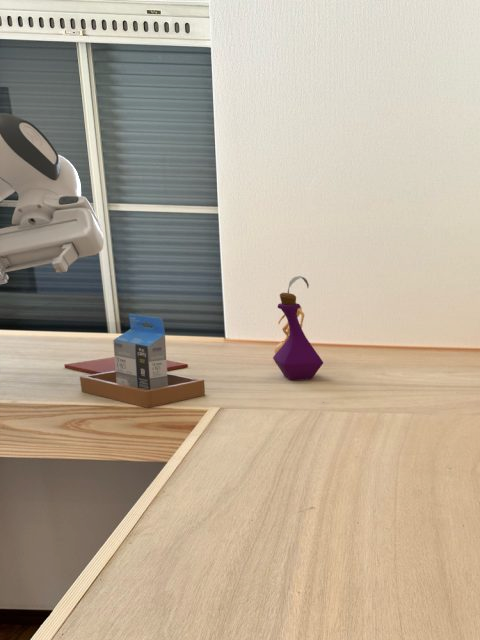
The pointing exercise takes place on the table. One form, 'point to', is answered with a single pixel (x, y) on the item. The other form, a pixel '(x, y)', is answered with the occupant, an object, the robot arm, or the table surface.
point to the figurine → (288, 328)
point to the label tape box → (141, 354)
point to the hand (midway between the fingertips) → (29, 274)
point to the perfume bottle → (296, 343)
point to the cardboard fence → (173, 392)
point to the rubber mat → (111, 365)
